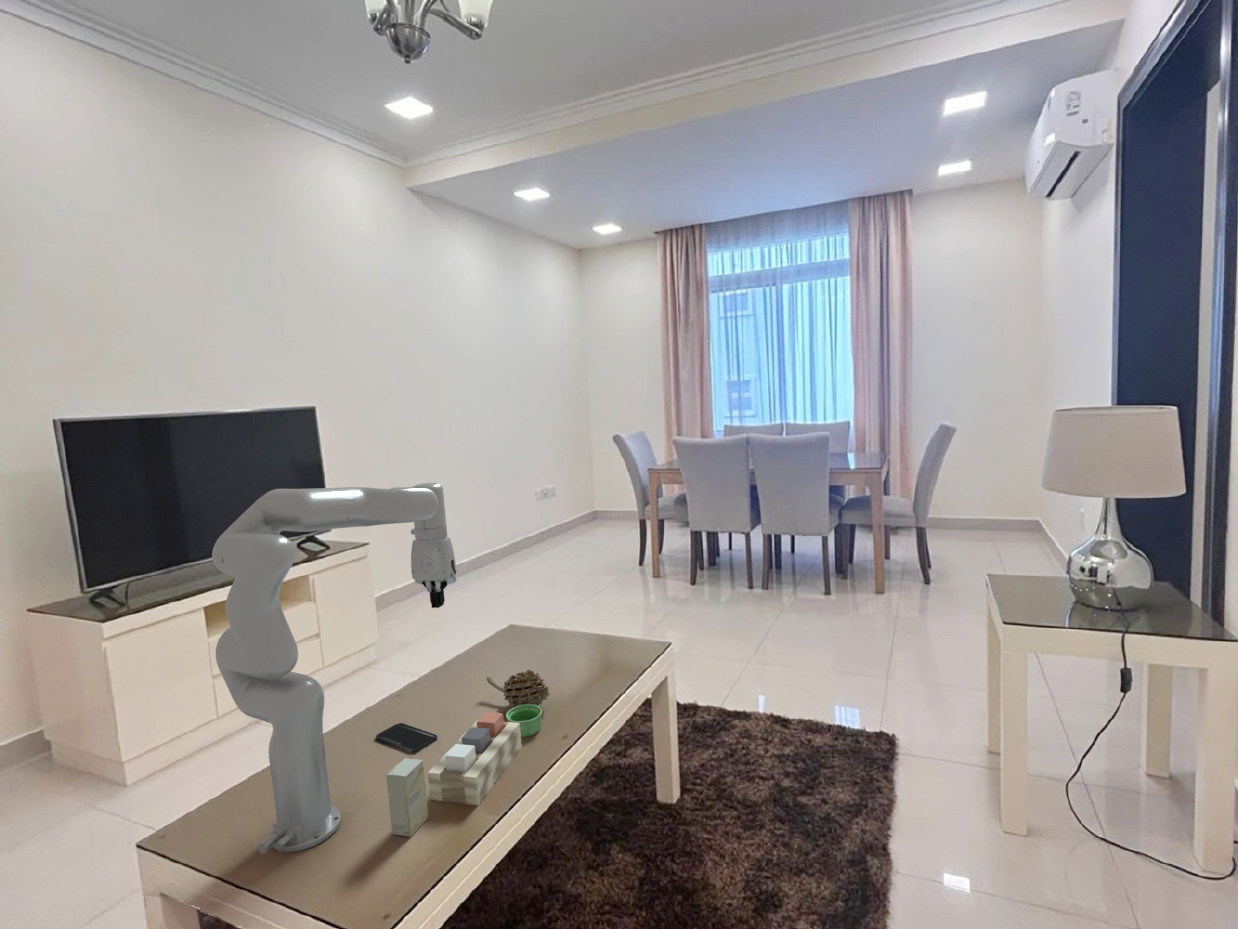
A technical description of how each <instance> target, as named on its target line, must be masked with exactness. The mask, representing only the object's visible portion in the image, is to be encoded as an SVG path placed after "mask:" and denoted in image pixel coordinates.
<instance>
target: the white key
mask: <svg viewBox="0 0 1238 929" xmlns="http://www.w3.org/2000/svg"><path fill="white" fill-rule="evenodd" d="M454 744H455V743H454ZM454 744H453V745H454ZM453 745H452V746H453ZM452 746H451V747H452ZM448 751H449V750H448ZM448 751H447V752H448ZM447 752H446V753H447ZM446 753H445V754H446ZM445 754H444V755H445ZM445 761H446V771H455V772H464V773H467V772H468V771H469V769H470V768H471V767H472V766H473V765H474V763H475V762H476V754H475V746H473V745H462V744H455V745H454V746H453V747H452V749H451V750H450V751H449V752H448V753H447V754H446V755H445Z"/></svg>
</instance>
